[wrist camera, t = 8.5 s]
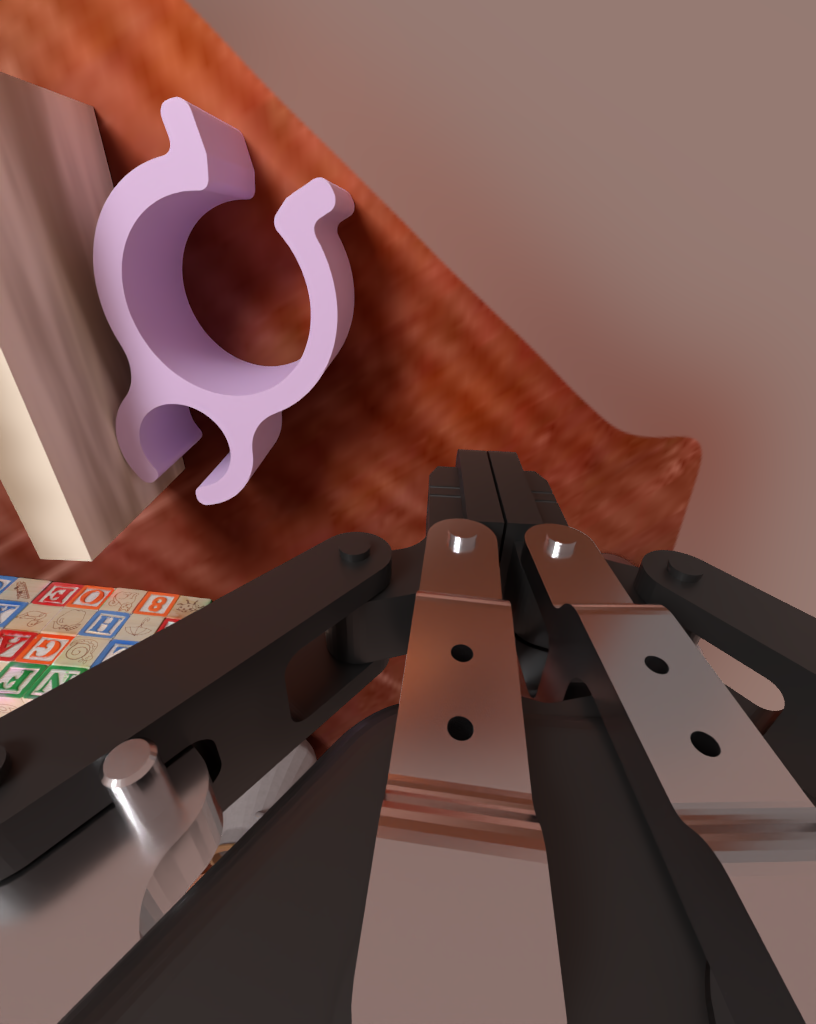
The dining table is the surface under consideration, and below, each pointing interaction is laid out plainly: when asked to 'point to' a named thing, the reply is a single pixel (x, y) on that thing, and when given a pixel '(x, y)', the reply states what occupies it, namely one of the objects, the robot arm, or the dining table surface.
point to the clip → (169, 318)
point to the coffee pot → (263, 796)
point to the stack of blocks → (72, 630)
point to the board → (59, 333)
